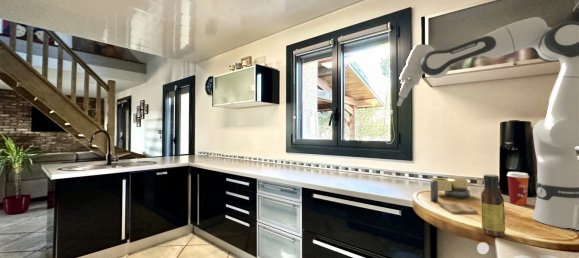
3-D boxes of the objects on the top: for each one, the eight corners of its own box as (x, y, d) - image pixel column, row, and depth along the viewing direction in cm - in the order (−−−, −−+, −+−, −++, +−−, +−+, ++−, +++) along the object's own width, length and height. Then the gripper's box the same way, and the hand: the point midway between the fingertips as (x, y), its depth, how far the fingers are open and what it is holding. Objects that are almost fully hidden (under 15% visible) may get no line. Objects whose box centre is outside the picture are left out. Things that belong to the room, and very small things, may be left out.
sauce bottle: (509, 238, 82) (508, 177, 82) (488, 236, 84) (487, 177, 83) (497, 229, 89) (496, 173, 89) (477, 228, 90) (476, 173, 90)
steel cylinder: (436, 200, 124) (435, 180, 124) (439, 202, 121) (438, 181, 121) (429, 200, 124) (429, 180, 124) (432, 202, 121) (432, 181, 121)
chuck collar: (460, 186, 135) (460, 177, 135) (471, 191, 126) (471, 180, 126) (429, 186, 136) (429, 177, 136) (438, 191, 127) (438, 181, 127)
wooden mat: (462, 205, 115) (462, 203, 115) (477, 213, 105) (477, 211, 105) (439, 205, 115) (439, 203, 115) (452, 213, 105) (452, 211, 105)
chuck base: (461, 192, 136) (461, 186, 136) (475, 198, 125) (474, 192, 125) (440, 192, 137) (440, 186, 137) (451, 198, 126) (451, 192, 126)
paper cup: (525, 207, 110) (525, 175, 110) (504, 202, 117) (503, 172, 117) (532, 204, 114) (532, 173, 114) (511, 200, 121) (510, 170, 121)
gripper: (418, 79, 111) (405, 108, 114) (415, 81, 130) (404, 107, 133) (403, 74, 113) (391, 104, 117) (403, 78, 132) (392, 103, 135)
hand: (398, 105), depth 125 cm, fingers open, 8 cm apart
